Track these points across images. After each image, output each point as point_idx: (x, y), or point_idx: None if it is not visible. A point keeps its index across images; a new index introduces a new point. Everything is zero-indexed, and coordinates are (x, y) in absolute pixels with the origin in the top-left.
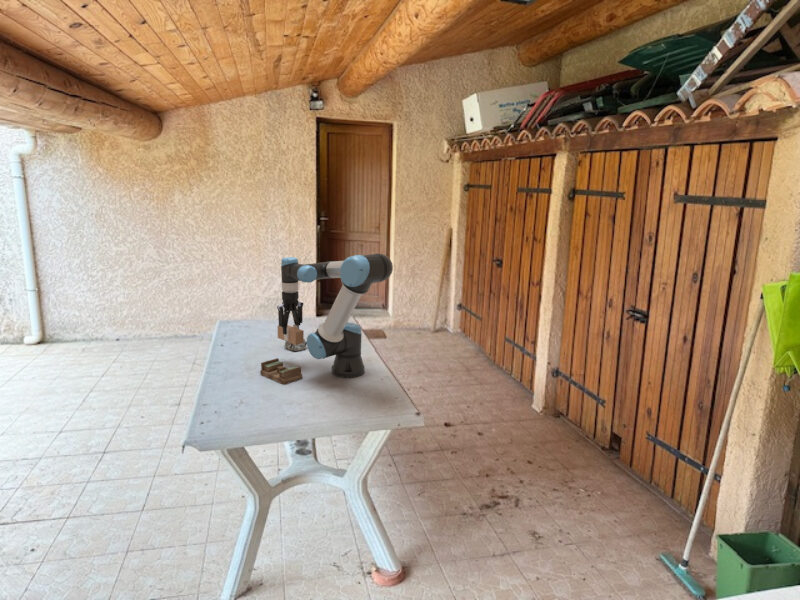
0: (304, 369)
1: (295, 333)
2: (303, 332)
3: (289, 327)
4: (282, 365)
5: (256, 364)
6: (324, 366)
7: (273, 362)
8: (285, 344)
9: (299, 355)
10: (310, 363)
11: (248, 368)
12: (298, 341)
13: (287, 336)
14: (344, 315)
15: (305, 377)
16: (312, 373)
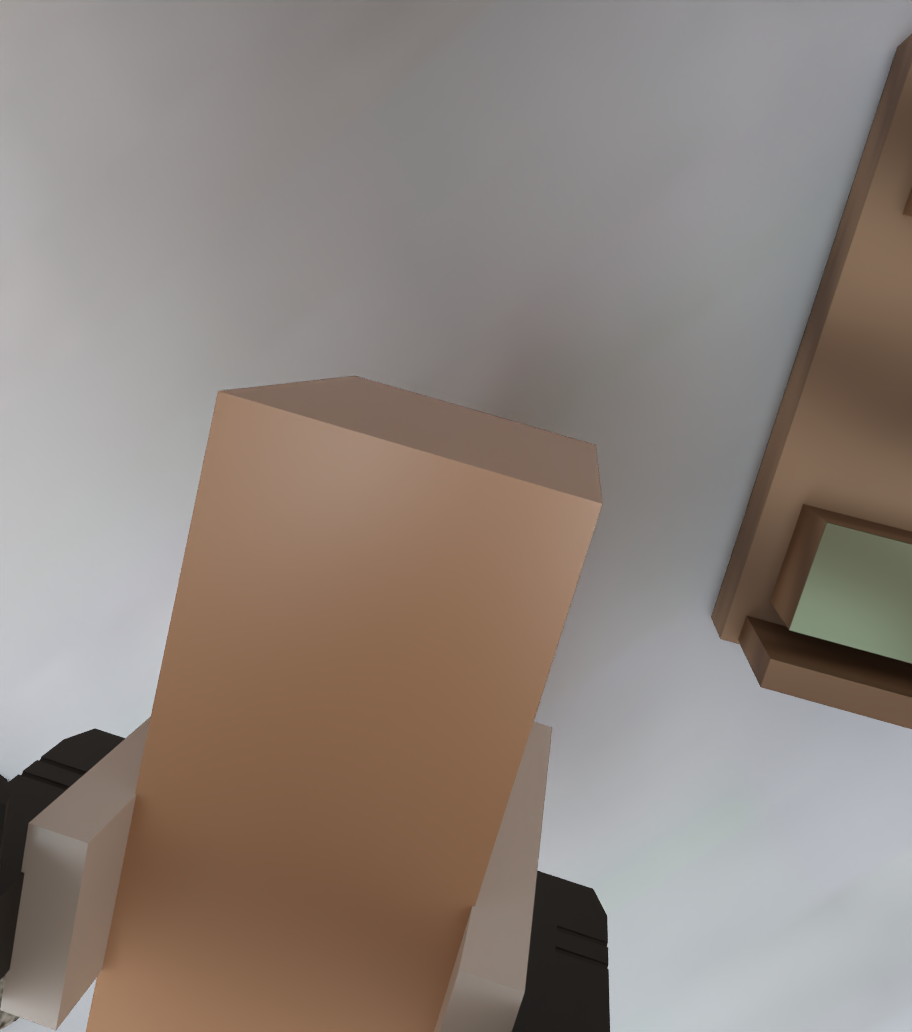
0: (533, 284)
1: (597, 504)
2: (249, 388)
3: (228, 1027)
4: (820, 514)
5: (700, 970)
6: (271, 98)
7: (871, 673)
8: (4, 1016)
9: (119, 690)
10: (283, 366)
11: (884, 975)
12: (503, 424)
13: (543, 797)
14: None
15: (826, 38)
16: (618, 59)
